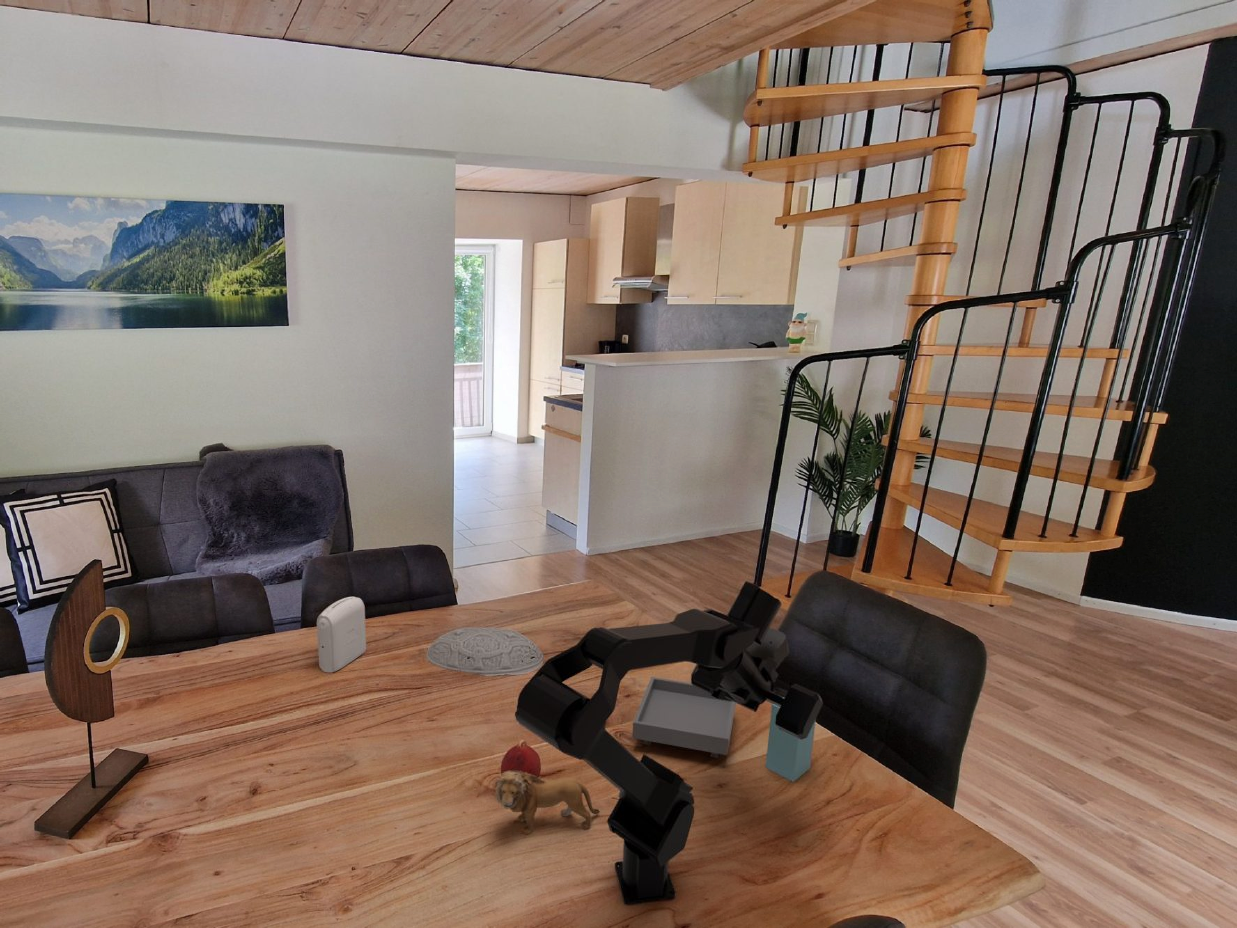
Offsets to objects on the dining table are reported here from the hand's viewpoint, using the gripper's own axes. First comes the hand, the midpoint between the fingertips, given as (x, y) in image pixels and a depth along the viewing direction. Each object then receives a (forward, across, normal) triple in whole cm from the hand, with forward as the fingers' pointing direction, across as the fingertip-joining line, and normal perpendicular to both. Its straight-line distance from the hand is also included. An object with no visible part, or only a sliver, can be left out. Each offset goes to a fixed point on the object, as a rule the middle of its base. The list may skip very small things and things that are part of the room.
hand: (772, 712), depth 111 cm
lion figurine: (-12, +16, +30) cm, 36 cm away
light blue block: (+13, 0, +4) cm, 14 cm away
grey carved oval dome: (+5, +61, +14) cm, 63 cm away
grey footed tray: (+10, +17, +8) cm, 21 cm away
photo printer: (-11, +77, +29) cm, 83 cm away
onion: (-11, +24, +28) cm, 39 cm away
